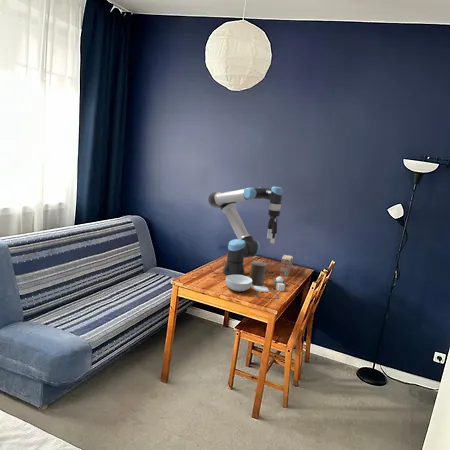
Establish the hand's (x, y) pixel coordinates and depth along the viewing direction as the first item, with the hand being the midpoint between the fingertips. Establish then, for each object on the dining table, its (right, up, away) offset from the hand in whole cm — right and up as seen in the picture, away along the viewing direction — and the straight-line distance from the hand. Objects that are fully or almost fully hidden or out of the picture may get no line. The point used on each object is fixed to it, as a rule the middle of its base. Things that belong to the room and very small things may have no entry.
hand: (270, 240), depth 282 cm
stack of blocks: (+14, -24, +26) cm, 38 cm away
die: (+4, -31, -15) cm, 35 cm away
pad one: (-8, -30, -18) cm, 36 cm away
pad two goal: (-10, -28, -9) cm, 31 cm away
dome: (+5, -28, -4) cm, 29 cm away
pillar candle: (-10, -28, -9) cm, 31 cm away
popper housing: (+5, -29, -4) cm, 30 cm away
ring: (-6, -32, -26) cm, 42 cm away
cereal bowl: (-23, -30, -23) cm, 44 cm away
